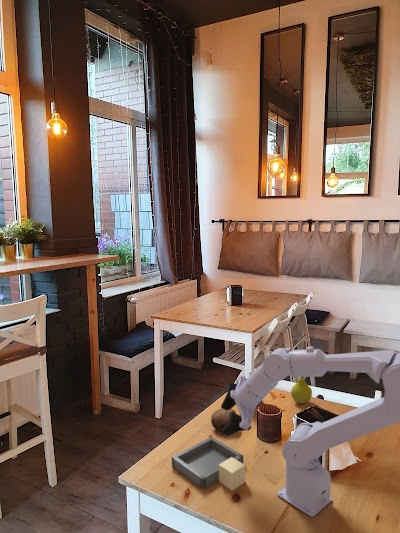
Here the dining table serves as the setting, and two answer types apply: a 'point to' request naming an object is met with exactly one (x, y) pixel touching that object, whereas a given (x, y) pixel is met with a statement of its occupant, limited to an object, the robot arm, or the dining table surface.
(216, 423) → the brown rough rounded lump
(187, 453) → the slate tray
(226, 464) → the cheese cube
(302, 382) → the fruit
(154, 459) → the dining table surface
